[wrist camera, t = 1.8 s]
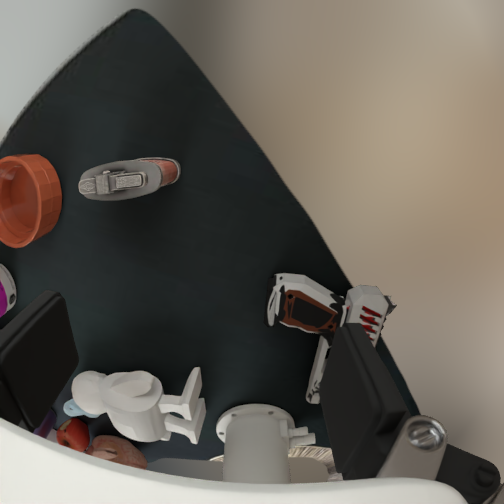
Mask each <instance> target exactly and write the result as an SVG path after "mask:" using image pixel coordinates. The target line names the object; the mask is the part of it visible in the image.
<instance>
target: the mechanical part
mask: <svg viewBox="0 0 504 504" xmlns="http://www.w3.org/2000/svg"><path fill="white" fill-rule="evenodd" d="M69 408H71V409H73V410H71V409H69ZM63 409H64V412H65V413H66V414H67V415H69V416H79V415H86V416H87V417H91V418H96V417H99V416H100V414H98V415H94V414H90V413H87V412H85V411H84V410H82V409H81V408H80V407H79V406H78V405H77V404H76V403H75V401H74V399H71V400H69V401H67V402H66V403H65V404H64V408H63Z"/></svg>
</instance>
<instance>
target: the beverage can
mask: <svg viewBox="0 0 504 504" xmlns="http://www.w3.org/2000/svg"><path fill="white" fill-rule="evenodd" d="M56 420H57V419H56V414H55V412H54V411H53V410H52V409H50V410H49V412H48V414H47V415H46V417H45V419H44V420H43V422H42V424H41V425H40V427H39V428H36V429H35V430H34V432H33V434H35V435H38V436H40V437H42V438H45V439H46V438H47V437H48V435H49V433H50V431H51V430H52V428H53V426H54V424H55V423H56ZM18 427H19V426H18Z"/></svg>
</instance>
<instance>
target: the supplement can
mask: <svg viewBox="0 0 504 504" xmlns="http://www.w3.org/2000/svg"><path fill="white" fill-rule="evenodd" d="M15 301H16V287H15V283H14V280H13V278H12V276H11V274H10V272H9V271H8V270H7V269H6V267H4V266H3V265H2V264H0V317H1V316H2V315H4V314H5V313H6V312H7V311H8V310H9V309H11V308H12V307H13V306H14V304H15Z"/></svg>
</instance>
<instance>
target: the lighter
mask: <svg viewBox="0 0 504 504" xmlns="http://www.w3.org/2000/svg"><path fill="white" fill-rule="evenodd" d="M180 174H181V169H180V165H179V163H178V162H177V161H176V160H174V159H168V158H141V159H136V160H131V161H118V162H113V163H108V164H104V165H100V166H97V167H95V168H92V169H90V170H87V171H86V172H84V173H83V175H82V176H81V180H80V182H79V190H80V192H81V193H82V194H83V195H84V196H85V197H86V198H89V199H96V200H123V199H129V198H135V197H139V196H142V195H145V194H149V193H152V192H154V191H156V190H158V189H159V188H160V187H161V186H164V185H168V184H171V183H174V182H175V181H177V180H178V179H179V177H180Z"/></svg>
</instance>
